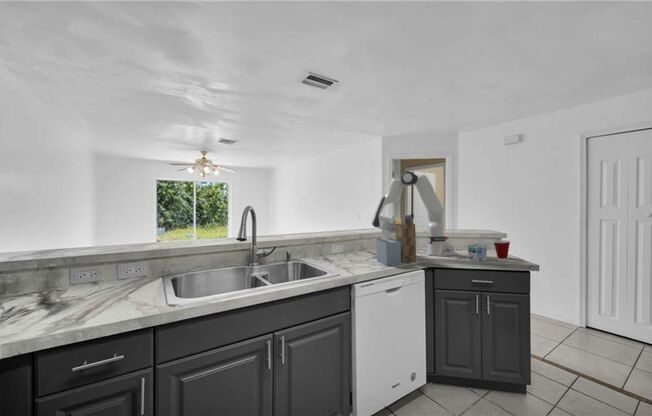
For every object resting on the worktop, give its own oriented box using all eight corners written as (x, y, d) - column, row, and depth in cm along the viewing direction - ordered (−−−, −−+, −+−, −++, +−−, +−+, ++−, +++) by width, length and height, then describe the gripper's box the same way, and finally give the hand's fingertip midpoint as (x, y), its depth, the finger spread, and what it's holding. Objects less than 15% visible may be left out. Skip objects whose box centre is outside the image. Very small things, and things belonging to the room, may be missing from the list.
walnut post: (409, 259, 204) (408, 223, 204) (416, 262, 194) (415, 224, 194) (396, 260, 202) (395, 223, 202) (402, 263, 192) (401, 224, 192)
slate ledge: (389, 259, 205) (389, 237, 205) (401, 264, 188) (400, 240, 187) (376, 260, 203) (376, 238, 203) (386, 265, 186) (386, 241, 186)
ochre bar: (398, 222, 213) (398, 214, 213) (411, 224, 193) (411, 215, 193) (392, 222, 212) (392, 214, 212) (404, 224, 192) (404, 215, 192)
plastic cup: (491, 256, 207) (491, 239, 206) (508, 256, 203) (508, 239, 203) (494, 259, 196) (494, 241, 196) (513, 259, 193) (512, 241, 193)
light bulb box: (477, 262, 188) (476, 245, 188) (467, 260, 194) (467, 244, 194) (487, 260, 193) (486, 244, 193) (477, 258, 199) (477, 243, 199)
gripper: (377, 225, 221) (383, 216, 209) (401, 224, 225) (408, 215, 213) (379, 232, 218) (384, 224, 206) (403, 231, 222) (411, 223, 210)
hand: (397, 220), depth 210 cm, fingers open, 4 cm apart
